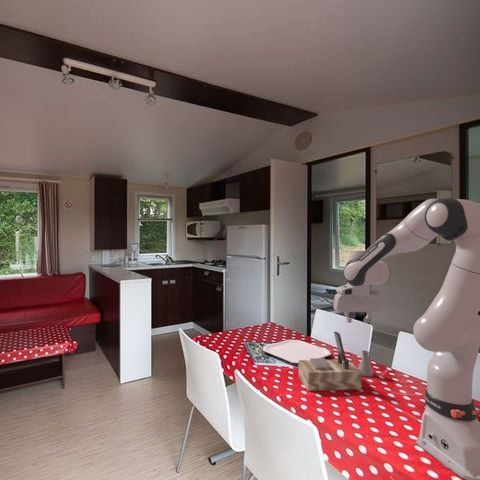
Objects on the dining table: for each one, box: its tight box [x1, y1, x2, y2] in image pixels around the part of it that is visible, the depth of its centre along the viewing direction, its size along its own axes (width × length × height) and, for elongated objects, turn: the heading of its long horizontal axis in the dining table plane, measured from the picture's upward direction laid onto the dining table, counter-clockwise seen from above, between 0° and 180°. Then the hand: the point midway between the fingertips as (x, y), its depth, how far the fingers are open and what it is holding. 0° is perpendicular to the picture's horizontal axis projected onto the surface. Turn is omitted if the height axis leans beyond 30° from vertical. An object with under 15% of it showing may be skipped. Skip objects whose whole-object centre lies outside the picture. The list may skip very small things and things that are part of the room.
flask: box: [357, 350, 374, 378], centre depth 142 cm, size 7×7×10 cm
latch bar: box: [333, 331, 346, 361], centre depth 132 cm, size 12×4×1 cm
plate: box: [262, 339, 332, 365], centre depth 165 cm, size 29×29×2 cm
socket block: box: [297, 353, 363, 392], centre depth 132 cm, size 22×13×10 cm, turn 96°
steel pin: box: [310, 357, 330, 369], centre depth 131 cm, size 6×6×8 cm
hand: (357, 322), depth 133 cm, fingers open, 6 cm apart
